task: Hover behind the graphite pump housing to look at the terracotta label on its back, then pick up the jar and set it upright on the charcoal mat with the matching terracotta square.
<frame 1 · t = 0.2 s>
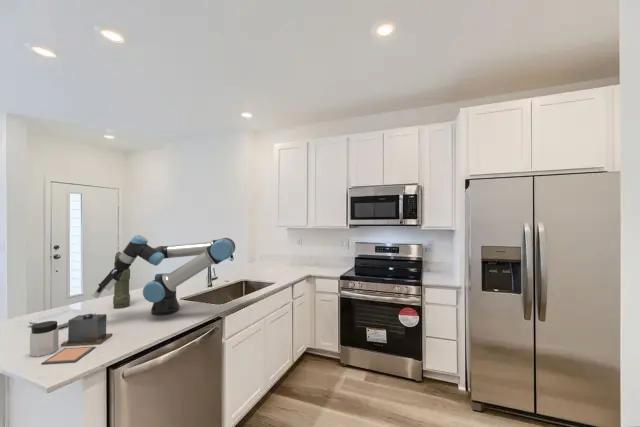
hand: (101, 293, 161), 16 cm above the counter, tool tilted 35°, fingers open, 13 cm apart
jar: (44, 352, 125), on the counter
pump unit: (87, 340, 137), on the counter
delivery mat: (70, 355, 122), on the counter
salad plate: (63, 323, 160), on the counter
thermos: (121, 306, 187), on the counter
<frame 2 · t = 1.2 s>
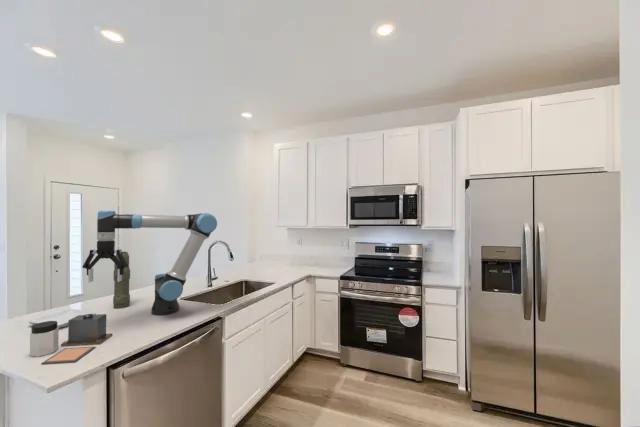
hand: (105, 281, 151), 25 cm above the counter, tool pointing down, fingers open, 13 cm apart
nothing on the counter moved.
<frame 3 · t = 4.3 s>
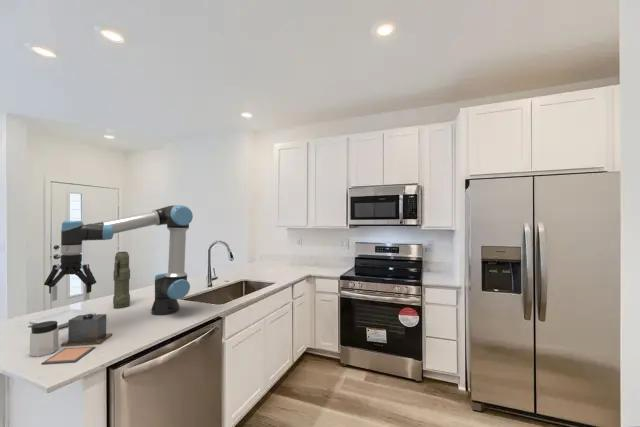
hand: (70, 300, 135), 19 cm above the counter, tool pointing down, fingers open, 13 cm apart
nothing on the counter moved.
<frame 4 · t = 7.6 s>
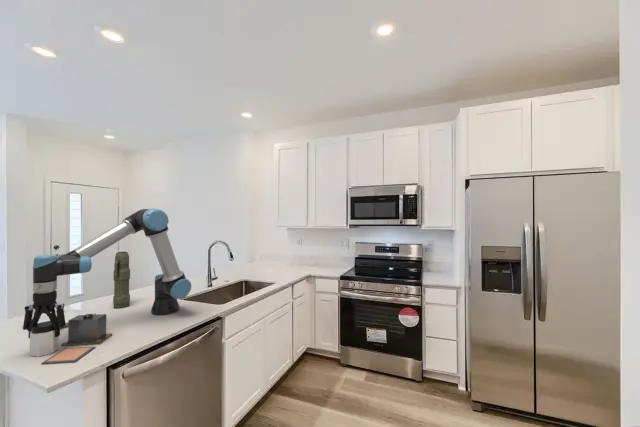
hand: (44, 344, 125), 3 cm above the counter, tool pointing down, fingers closed on jar, 7 cm apart
jar: (44, 352, 125), on the counter, touching gripper
everything else where it was.
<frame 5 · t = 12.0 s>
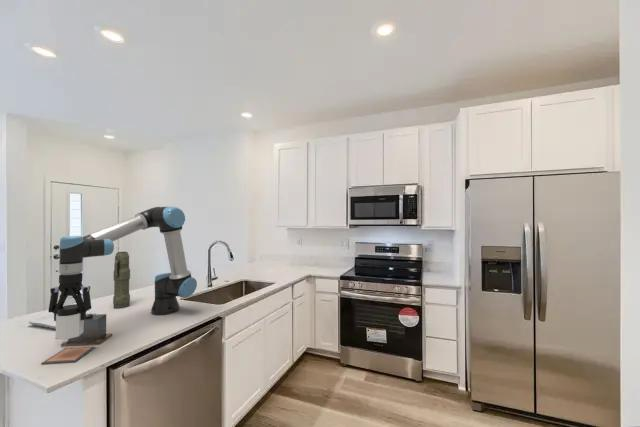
hand: (69, 328, 122), 12 cm above the counter, tool pointing down, fingers closed on jar, 7 cm apart
jar: (69, 336, 122), point 8 cm above the counter, touching gripper
everything else where it was.
when the fingers open (4 cm above the counter, at t = 16.4 s): jar stays where it is, resting on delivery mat.
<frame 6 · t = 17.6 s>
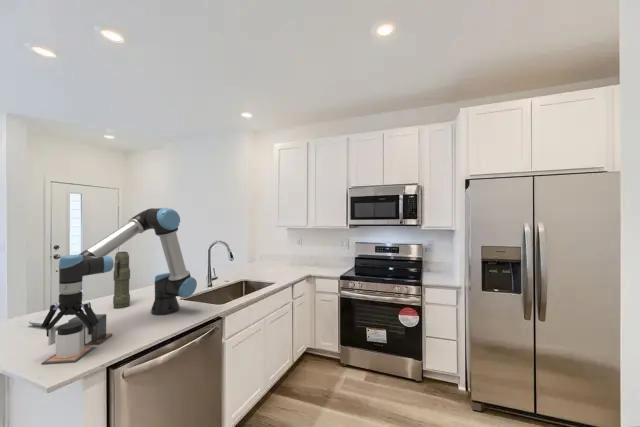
hand: (70, 343, 122), 5 cm above the counter, tool pointing down, fingers open, 13 cm apart
jar: (70, 354, 122), point 1 cm above the counter, touching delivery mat
everything else where it was.
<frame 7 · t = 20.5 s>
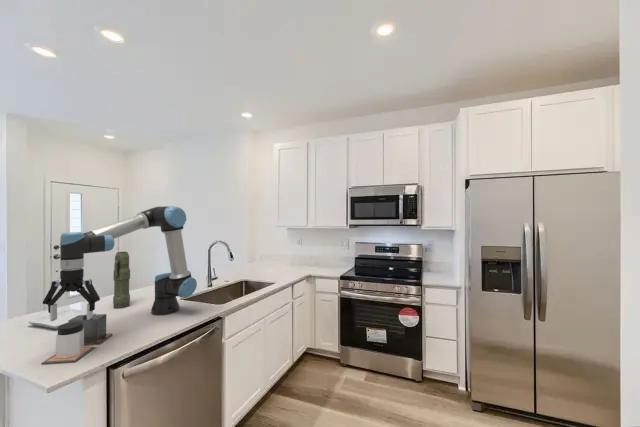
hand: (71, 319, 123), 15 cm above the counter, tool pointing down, fingers open, 13 cm apart
nothing on the counter moved.
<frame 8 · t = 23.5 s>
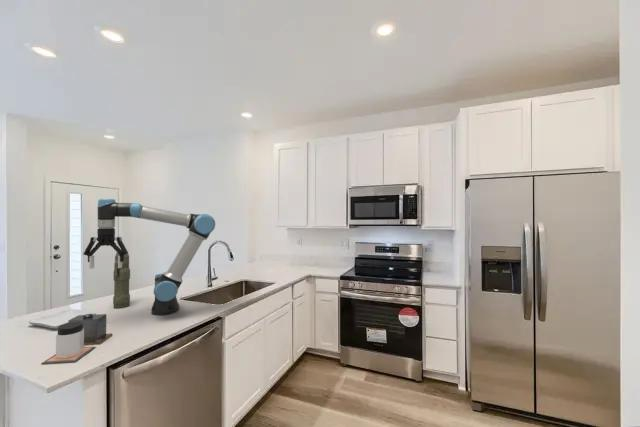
hand: (105, 268, 154), 31 cm above the counter, tool pointing down, fingers open, 13 cm apart
nothing on the counter moved.
at the end: jar inside the target area on the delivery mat (0.1 cm from its centre), point 0.5 cm above the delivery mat's base; jar tilted 0°; the gripper is holding nothing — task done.
